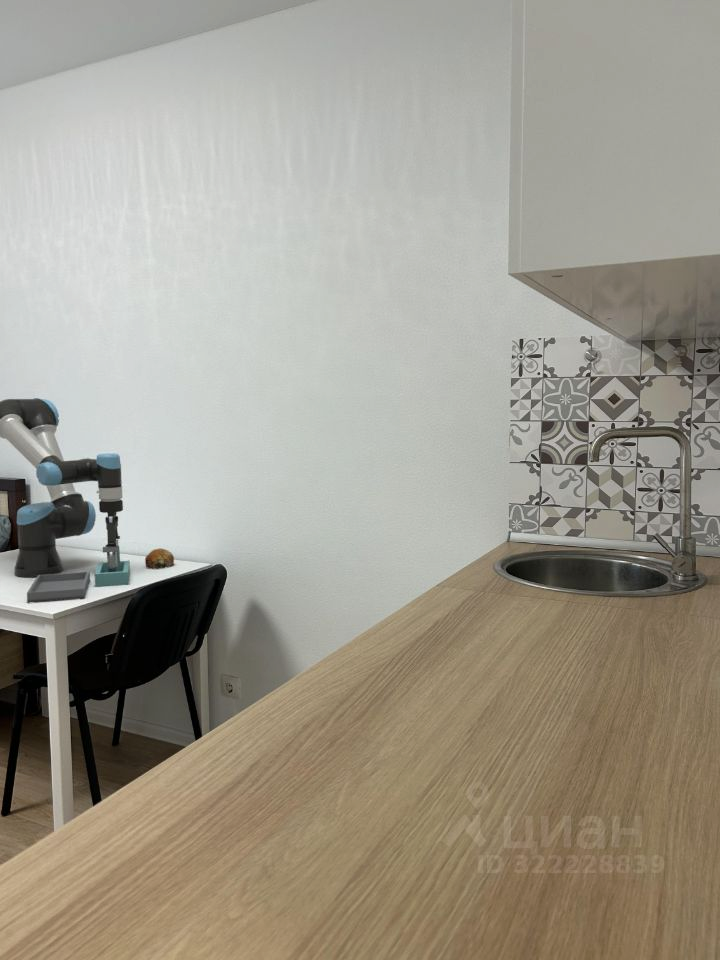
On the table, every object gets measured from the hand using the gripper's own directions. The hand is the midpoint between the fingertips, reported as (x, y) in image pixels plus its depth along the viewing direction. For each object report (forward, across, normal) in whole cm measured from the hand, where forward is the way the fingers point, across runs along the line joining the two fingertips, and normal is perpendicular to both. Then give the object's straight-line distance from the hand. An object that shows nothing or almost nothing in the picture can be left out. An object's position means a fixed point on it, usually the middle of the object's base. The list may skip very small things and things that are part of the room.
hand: (114, 562), depth 259 cm
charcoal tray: (+4, +20, -15) cm, 25 cm away
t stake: (+4, +12, 0) cm, 13 cm away
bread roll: (+4, -8, +15) cm, 17 cm away
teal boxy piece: (+4, +8, 0) cm, 9 cm away
